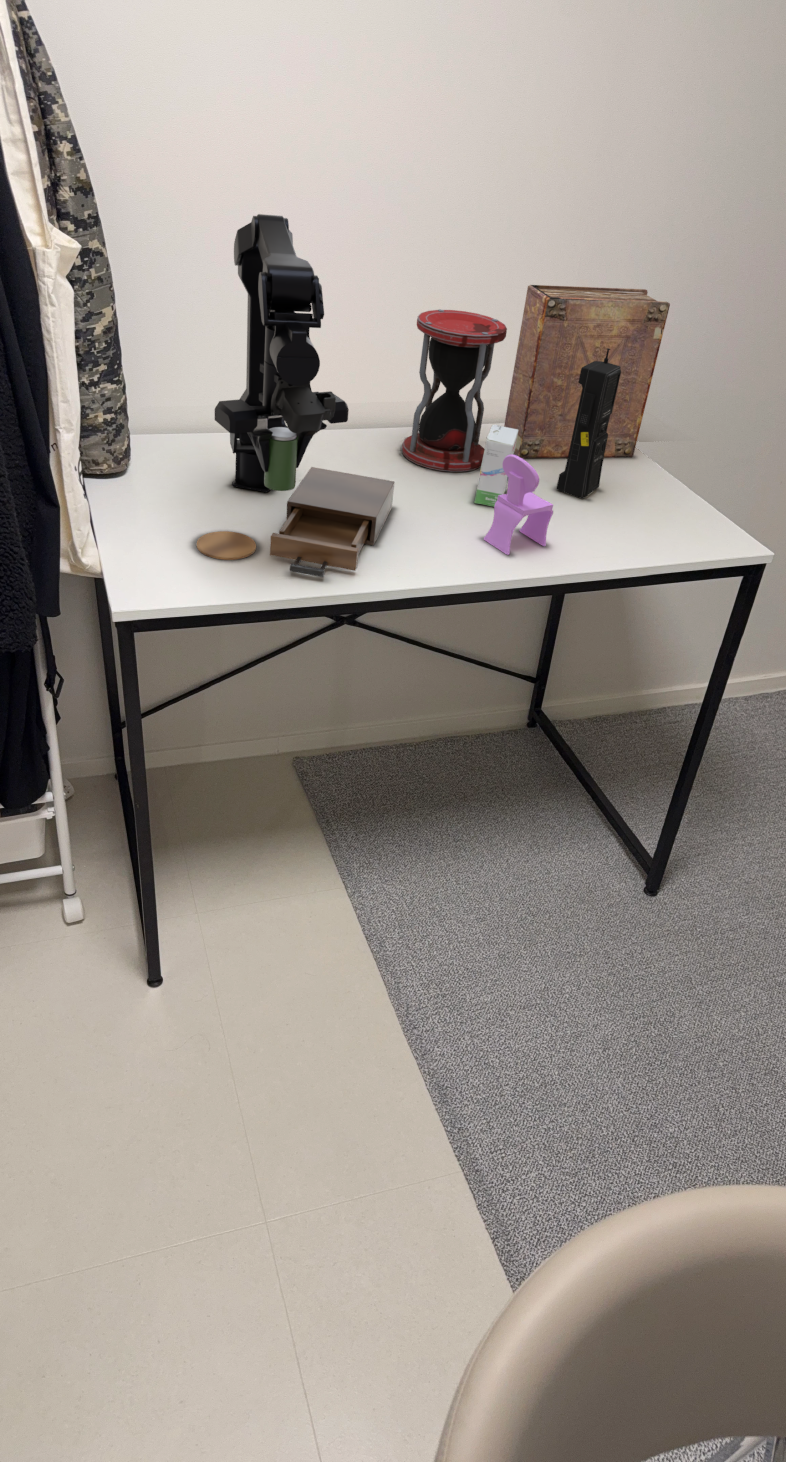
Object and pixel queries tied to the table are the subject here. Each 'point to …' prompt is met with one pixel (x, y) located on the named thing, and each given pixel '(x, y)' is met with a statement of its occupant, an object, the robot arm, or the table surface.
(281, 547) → the drawer
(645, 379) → the book
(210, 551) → the coaster
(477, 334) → the hourglass
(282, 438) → the can
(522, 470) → the toy chair
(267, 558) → the table surface
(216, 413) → the robot arm
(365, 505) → the cabinet
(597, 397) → the portable radio
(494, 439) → the ink box
